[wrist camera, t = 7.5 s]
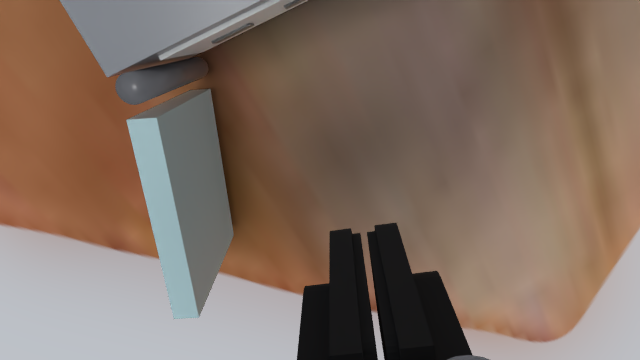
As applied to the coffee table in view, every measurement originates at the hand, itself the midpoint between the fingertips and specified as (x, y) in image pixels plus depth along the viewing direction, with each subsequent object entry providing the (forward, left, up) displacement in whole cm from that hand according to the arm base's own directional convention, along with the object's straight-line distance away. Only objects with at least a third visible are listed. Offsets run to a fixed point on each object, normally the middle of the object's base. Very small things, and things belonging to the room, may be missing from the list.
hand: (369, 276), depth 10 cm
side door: (+7, -2, -11) cm, 13 cm away
